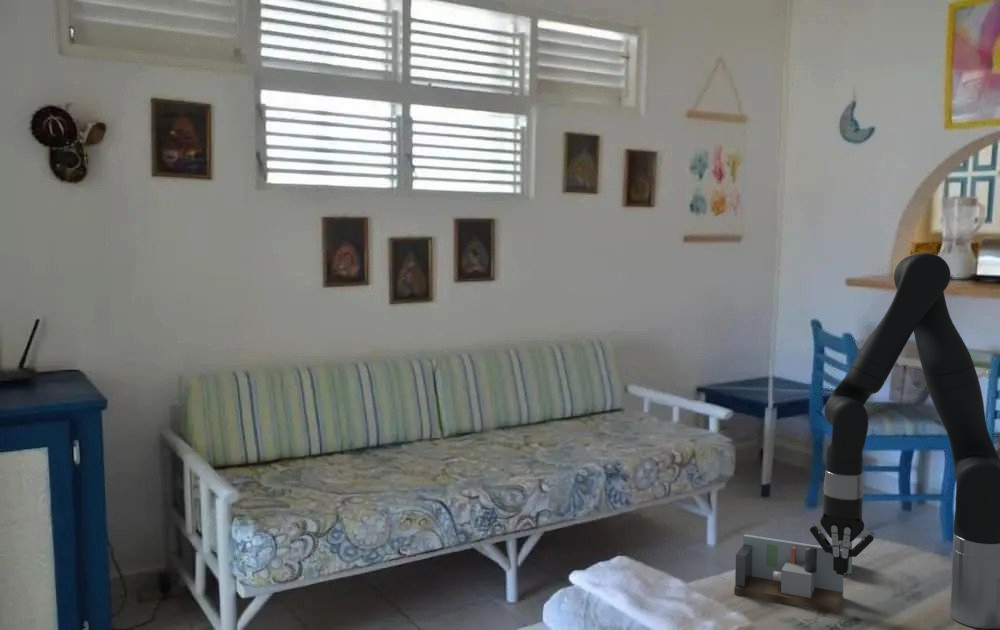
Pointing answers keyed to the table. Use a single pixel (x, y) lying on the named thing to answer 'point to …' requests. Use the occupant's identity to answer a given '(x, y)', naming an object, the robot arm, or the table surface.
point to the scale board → (778, 552)
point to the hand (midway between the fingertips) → (840, 573)
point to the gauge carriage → (798, 574)
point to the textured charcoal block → (743, 566)
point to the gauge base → (772, 592)
